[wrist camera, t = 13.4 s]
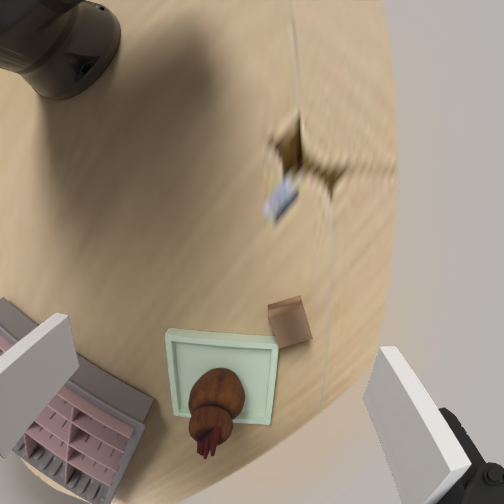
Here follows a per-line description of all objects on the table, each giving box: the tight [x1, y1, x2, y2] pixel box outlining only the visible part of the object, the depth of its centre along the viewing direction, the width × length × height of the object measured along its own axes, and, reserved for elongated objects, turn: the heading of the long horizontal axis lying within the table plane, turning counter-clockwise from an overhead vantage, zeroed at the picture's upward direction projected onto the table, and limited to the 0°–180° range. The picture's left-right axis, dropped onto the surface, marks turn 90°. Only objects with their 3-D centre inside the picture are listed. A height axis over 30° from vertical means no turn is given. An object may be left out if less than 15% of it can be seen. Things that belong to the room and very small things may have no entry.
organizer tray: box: [0, 297, 154, 504], centre depth 39 cm, size 32×40×10 cm
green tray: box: [165, 328, 279, 425], centre depth 38 cm, size 14×14×2 cm
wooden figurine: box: [188, 368, 245, 459], centre depth 31 cm, size 7×6×15 cm
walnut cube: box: [268, 296, 313, 348], centre depth 35 cm, size 4×4×4 cm
